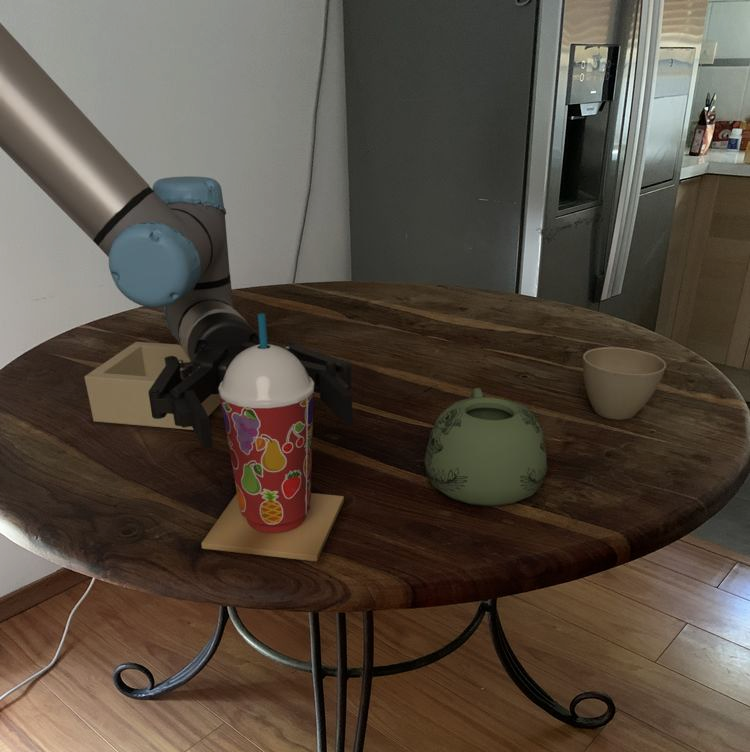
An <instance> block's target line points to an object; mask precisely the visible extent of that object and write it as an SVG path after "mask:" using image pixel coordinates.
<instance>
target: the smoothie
mask: <svg viewBox="0 0 750 752" xmlns="http://www.w3.org/2000/svg"><path fill="white" fill-rule="evenodd" d="M257 320H258V322H257V323H258V335H259V338H260V345H255V346H252V347H249V348H247V349H245V350H244V351H242V352H241V353H239V354H238V355H237V356H236V357H235V358H234V359H233V360H232V361H231V363H230V365H229V367H228V369H227V371H226V373H225V376H224V379H223V381H222V382H221V383H220V386H219V388H218V390H219V394H220V398H221V404H220V405H221V409H222V415H223V422H224V427H225V433H226V439H227V444H228V451H229V455H230V461H231V462H230V463H231V468H232V473H233V479H234V485H235V490H236V494H237V496H238V502H239V508H240V511H241V514H242V515H243V516H244V517H245V518H246V519H247V522H248V524H249V525H250V526H251V527H252V528H253V529H256V530H259V531H262V532H268V533H279V532H285V531H289V530H292V529H294V528H296V527H298V526H299V525H301V524H302V523H303V521H304V520H305V517H306V514H307V513H308V511H309V510H310V508H311V493H312V472H313V471H312V469H313V468H312V467H313V430H314V428H313V427H314V422H313V421H314V392H313V391H314V385H315V383H314V382H313V380H312V379H311V377H309V376H308V373H307V371H306V370H305V368H304V366H303V365H302V363H301V362H300V361H299V359H298V358H297V357H296V356H295V355H294V354H293V353H291V352H289V351H288V350H286V349H285V347H282V346H280V345H275V344H271V343H268V332H267V322H266V321H267V319H266V313H257Z"/></svg>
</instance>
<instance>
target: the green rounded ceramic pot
mask: <svg viewBox="0 0 750 752" xmlns="http://www.w3.org/2000/svg"><path fill="white" fill-rule="evenodd" d="M426 446H427V447H426V451H425V454H424V458H423V463H424V467H425V473H426V477H427V478H428V480H429V482H430V484H431V485H432V486H433V487H434V488H435V489H436V490H437V491H439V492H441V493H442V494H444V495H445V496H447V497H449V498H450V499H452V500H454V501H457V502H461V503H463V504H467V505H471V506H479V507H490V508H491V507H492V508H493V507H499V506H500V507H501V506H507V505H508V506H509V505H512V504H514V503H516V502H520V501H523V500H525V499H527V498H529V497H531V496H534V494H536V492H537V491H538V490H539V488H540V487H541V486H542V485H543V482H544V479H545V477H546V474H547V470H548V463H547V449H546V446H547V445H546V438H545V435H544V432H543V429H542V426H541V423H540V422H539V420H538V419H537V417H536V416H535V415H534V414H533V413H532V412H531V411H529V409H528V408H527V407H526V406H524V405H522V404H520V403H517V402H515V401H513V400H508V399H504V398H500V397H487V396H486V397H484V393H483V391H482V389H481V388H480V387H476V388H473V389H472V390H471V394H470V396H469V397H468V398H464V399H461V400H458V401H455V402H454V403H453V404H451V405H450V406H449V407H447V408H446V409H445V410H443V411H442V412H441V413H440V414H439V416H438V418H437V419H436V421H435V422H434V425H433V426H432V429H431V430H430V434H429V438H428V443H427V445H426Z"/></svg>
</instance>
